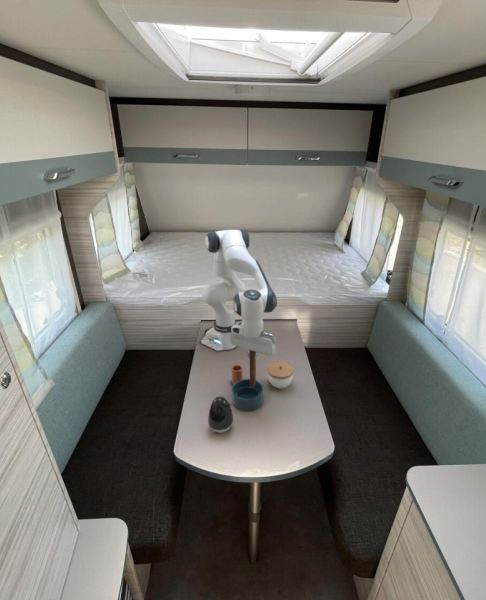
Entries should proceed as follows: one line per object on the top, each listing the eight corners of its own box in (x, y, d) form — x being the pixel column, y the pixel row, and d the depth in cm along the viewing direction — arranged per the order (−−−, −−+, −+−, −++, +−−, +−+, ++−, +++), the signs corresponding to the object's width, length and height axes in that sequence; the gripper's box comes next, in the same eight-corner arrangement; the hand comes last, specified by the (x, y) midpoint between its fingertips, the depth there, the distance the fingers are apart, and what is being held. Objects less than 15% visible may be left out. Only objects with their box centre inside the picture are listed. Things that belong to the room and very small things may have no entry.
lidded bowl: (278, 373, 168) (279, 355, 164) (298, 384, 160) (299, 365, 156) (261, 384, 160) (262, 365, 156) (281, 396, 152) (281, 377, 148)
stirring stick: (249, 385, 143) (249, 350, 136) (251, 382, 145) (251, 348, 138) (253, 386, 143) (253, 351, 135) (255, 384, 144) (255, 349, 137)
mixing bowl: (226, 405, 146) (225, 393, 144) (242, 387, 158) (242, 375, 155) (254, 416, 140) (254, 403, 138) (268, 396, 152) (268, 384, 149)
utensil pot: (230, 384, 160) (229, 369, 157) (235, 378, 164) (235, 363, 161) (239, 387, 158) (238, 372, 154) (244, 381, 162) (244, 366, 158)
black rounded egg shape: (223, 441, 128) (222, 410, 122) (203, 430, 133) (201, 400, 127) (238, 424, 136) (237, 395, 130) (218, 415, 141) (217, 386, 135)
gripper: (278, 331, 131) (278, 360, 136) (235, 320, 140) (236, 348, 145) (272, 338, 126) (271, 368, 131) (227, 327, 135) (228, 355, 140)
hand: (252, 358), depth 138 cm, fingers closed on stirring stick, 2 cm apart
